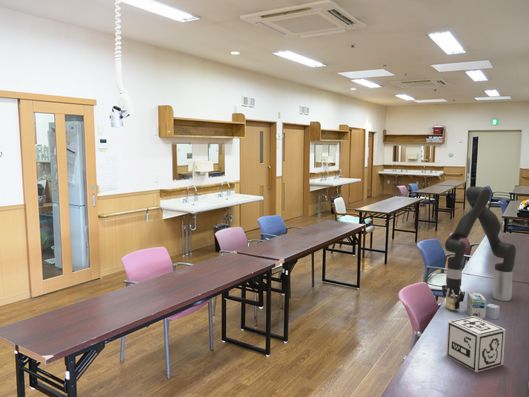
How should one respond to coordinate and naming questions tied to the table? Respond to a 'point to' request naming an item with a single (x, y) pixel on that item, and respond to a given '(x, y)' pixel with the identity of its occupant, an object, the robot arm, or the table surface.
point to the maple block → (451, 302)
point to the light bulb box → (476, 305)
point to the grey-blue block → (492, 311)
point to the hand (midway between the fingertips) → (452, 306)
